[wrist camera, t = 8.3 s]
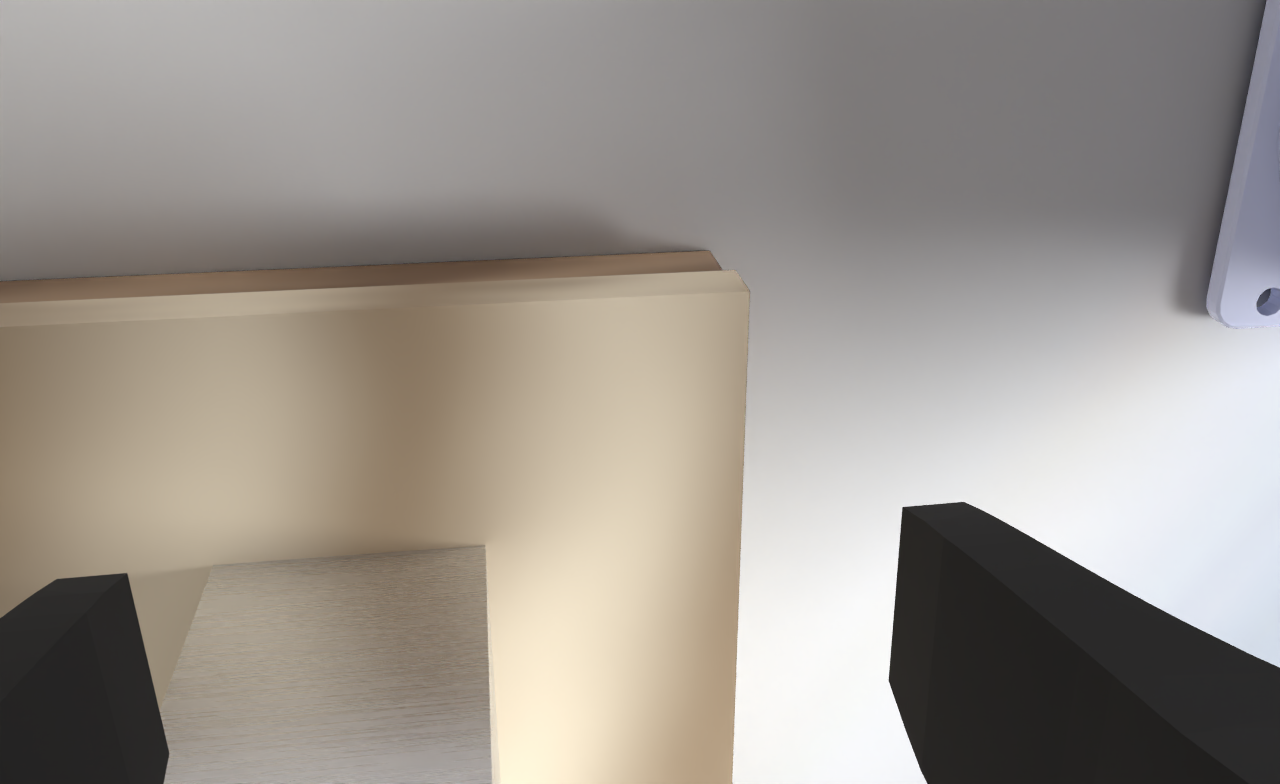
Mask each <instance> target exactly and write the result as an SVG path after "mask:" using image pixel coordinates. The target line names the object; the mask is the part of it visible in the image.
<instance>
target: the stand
mask: <svg viewBox="0 0 1280 784" xmlns="http://www.w3.org/2000/svg"><path fill="white" fill-rule="evenodd" d="M749 300H750V291H749V289H748V288H747V286H746V285H745V283H744V282H743V281H742V279H741V278H740V276H739V275H738V273H737V272H736V270H722V269H721V267H720V265H719V264H718V262H717V261H716V259H715V258H714V256H713V255H712V253H711V252H710V251H690V252H667V253H644V254H621V255H598V256H574V257H551V258H528V259H505V260H482V261H459V262H436V263H413V264H390V265H367V266H344V267H320V268H297V269H274V270H251V271H228V272H205V273H182V274H159V275H136V276H113V277H90V278H66V279H43V280H20V281H0V618H1V617H3V616H4V615H5V614H7V613H8V612H9V611H11V610H12V609H13V608H15V607H16V606H17V605H19V604H20V603H21V602H23V601H24V600H26V599H27V598H28V597H30V596H31V595H33V594H34V593H36V592H37V591H39V590H40V589H42V588H43V587H45V586H46V585H48V584H50V583H51V582H53V581H54V580H56V579H62V578H73V577H85V576H97V575H109V574H121V573H127V574H128V578H129V583H130V587H131V591H132V595H133V600H134V604H135V608H136V612H137V617H138V621H139V625H140V630H141V634H142V638H143V642H144V647H145V651H146V655H147V659H148V664H149V668H150V672H151V677H152V681H153V685H154V689H155V694H156V698H157V702H158V707H159V711H160V708H161V706H162V703H163V700H164V698H165V695H166V692H167V689H168V687H169V684H170V681H171V679H172V676H173V673H174V670H175V668H176V665H177V662H178V659H179V657H180V654H181V651H182V649H183V646H184V643H185V640H186V638H187V635H188V632H189V630H190V627H191V624H192V621H193V619H194V616H195V613H196V610H197V608H198V605H199V602H200V600H201V597H202V594H203V591H204V589H205V586H206V583H207V581H208V578H209V575H210V572H211V570H212V567H213V565H220V564H234V563H248V562H261V561H275V560H289V559H303V558H317V557H330V556H344V555H358V554H372V553H386V552H399V551H413V550H427V549H441V548H455V547H468V546H482V545H485V547H486V563H487V578H488V593H489V608H490V624H491V639H492V654H493V670H494V685H495V700H496V715H497V731H498V746H499V761H500V777H501V784H732V770H733V742H734V714H735V687H736V659H737V631H738V604H739V576H740V549H741V521H742V493H743V466H744V438H745V410H746V383H747V355H748V327H749Z"/></svg>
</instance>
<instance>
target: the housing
mask: <svg viewBox="0 0 1280 784" xmlns="http://www.w3.org/2000/svg"><path fill="white" fill-rule="evenodd" d="M160 715H161V719H162V724H163V728H164V732H165V736H166V741H167V745H168V749H169V758H168V764H167V769H166V774H165V779H164V784H501V777H500V761H499V746H498V731H497V715H496V700H495V685H494V670H493V654H492V639H491V624H490V608H489V593H488V578H487V563H486V547H485V545H482V546H468V547H455V548H441V549H427V550H413V551H399V552H386V553H372V554H358V555H344V556H330V557H317V558H303V559H289V560H275V561H261V562H248V563H234V564H220V565H213V567H212V570H211V572H210V575H209V578H208V581H207V583H206V586H205V589H204V591H203V594H202V597H201V600H200V602H199V605H198V608H197V610H196V613H195V616H194V619H193V621H192V624H191V627H190V630H189V632H188V635H187V638H186V640H185V643H184V646H183V649H182V651H181V654H180V657H179V659H178V662H177V665H176V668H175V670H174V673H173V676H172V679H171V681H170V684H169V687H168V689H167V692H166V695H165V698H164V700H163V703H162V706H161V708H160Z"/></svg>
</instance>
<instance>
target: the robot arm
mask: <svg viewBox="0 0 1280 784" xmlns="http://www.w3.org/2000/svg"><path fill="white" fill-rule="evenodd" d="M1266 289H1270V290H1271V294H1270V296H1269V298H1268V300H1267V301H1266V302H1265V303H1264V304H1263V305H1262V306H1260V307H1257V304H1256V302H1257V300H1258V298H1259V296H1260V295H1261V294H1262V293H1263V292H1264V291H1265V290H1266ZM1207 310H1208V312H1209V314H1210V316H1211V317H1212V318H1214V319H1215V320H1216V321H1218V322H1220V323H1221V324H1223V325H1225V326H1226V327H1230V328H1236V329H1239V328H1258V327H1276V326H1280V0H1267V1H1266V6H1265V11H1264V16H1263V21H1262V26H1261V31H1260V36H1259V41H1258V46H1257V51H1256V56H1255V61H1254V66H1253V71H1252V76H1251V81H1250V86H1249V91H1248V95H1247V100H1246V105H1245V110H1244V115H1243V120H1242V125H1241V130H1240V135H1239V140H1238V145H1237V150H1236V155H1235V160H1234V165H1233V170H1232V175H1231V180H1230V185H1229V190H1228V194H1227V199H1226V204H1225V209H1224V214H1223V219H1222V224H1221V229H1220V234H1219V239H1218V244H1217V249H1216V254H1215V259H1214V264H1213V269H1212V274H1211V279H1210V284H1209V288H1208V293H1207ZM889 683H890V686H891V689H892V692H893V694H894V697H895V700H896V703H897V706H898V709H899V712H900V715H901V718H902V721H903V723H904V726H905V729H906V732H907V735H908V737H909V740H910V743H911V745H912V748H913V751H914V753H915V756H916V759H917V761H918V764H919V767H920V769H921V772H922V774H923V776H924V778H925V780H926V782H927V784H1280V668H1279V667H1277V666H1275V665H1272V664H1270V663H1268V662H1266V661H1264V660H1261V659H1259V658H1257V657H1255V656H1253V655H1251V654H1248V653H1246V652H1244V651H1242V650H1240V649H1238V648H1236V647H1234V646H1232V645H1230V644H1228V643H1226V642H1224V641H1222V640H1220V639H1218V638H1216V637H1214V636H1212V635H1210V634H1208V633H1206V632H1204V631H1202V630H1200V629H1198V628H1196V627H1194V626H1191V625H1189V624H1187V623H1185V622H1183V621H1181V620H1180V619H1178V618H1176V617H1174V616H1172V615H1170V614H1168V613H1166V612H1164V611H1162V610H1161V609H1159V608H1157V607H1155V606H1153V605H1151V604H1149V603H1147V602H1145V601H1144V600H1142V599H1140V598H1138V597H1136V596H1134V595H1133V594H1131V593H1129V592H1127V591H1125V590H1123V589H1122V588H1120V587H1118V586H1116V585H1114V584H1113V583H1111V582H1109V581H1107V580H1105V579H1104V578H1102V577H1100V576H1098V575H1097V574H1095V573H1093V572H1091V571H1089V570H1088V569H1086V568H1084V567H1082V566H1081V565H1079V564H1077V563H1075V562H1074V561H1072V560H1070V559H1068V558H1067V557H1065V556H1063V555H1061V554H1060V553H1058V552H1056V551H1054V550H1053V549H1051V548H1049V547H1047V546H1046V545H1044V544H1042V543H1040V542H1039V541H1037V540H1035V539H1033V538H1032V537H1030V536H1028V535H1026V534H1025V533H1023V532H1021V531H1019V530H1018V529H1016V528H1014V527H1012V526H1010V525H1009V524H1007V523H1005V522H1003V521H1001V520H999V519H998V518H996V517H994V516H992V515H990V514H988V513H986V512H984V511H982V510H980V509H978V508H976V507H974V506H971V505H969V504H967V503H965V502H958V503H946V504H934V505H922V506H911V507H903V508H902V521H901V533H900V546H899V558H898V571H897V584H896V596H895V609H894V621H893V634H892V646H891V659H890V671H889ZM168 758H169V749H168V745H167V741H166V736H165V732H164V728H163V724H162V719H161V715H160V711H159V707H158V702H157V698H156V694H155V689H154V685H153V681H152V677H151V672H150V668H149V664H148V659H147V655H146V651H145V647H144V642H143V638H142V634H141V630H140V625H139V621H138V617H137V612H136V608H135V604H134V600H133V595H132V591H131V587H130V583H129V578H128V574H127V573H121V574H109V575H97V576H85V577H73V578H62V579H56V580H54V581H53V582H51V583H50V584H48V585H46V586H45V587H43V588H42V589H40V590H39V591H37V592H36V593H34V594H33V595H31V596H30V597H28V598H27V599H26V600H24V601H23V602H21V603H20V604H19V605H17V606H16V607H15V608H13V609H12V610H11V611H9V612H8V613H7V614H5V615H4V616H3V617H1V618H0V784H164V779H165V774H166V769H167V764H168Z"/></svg>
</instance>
